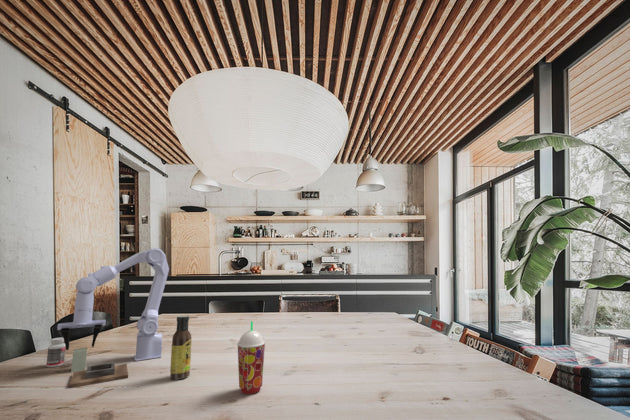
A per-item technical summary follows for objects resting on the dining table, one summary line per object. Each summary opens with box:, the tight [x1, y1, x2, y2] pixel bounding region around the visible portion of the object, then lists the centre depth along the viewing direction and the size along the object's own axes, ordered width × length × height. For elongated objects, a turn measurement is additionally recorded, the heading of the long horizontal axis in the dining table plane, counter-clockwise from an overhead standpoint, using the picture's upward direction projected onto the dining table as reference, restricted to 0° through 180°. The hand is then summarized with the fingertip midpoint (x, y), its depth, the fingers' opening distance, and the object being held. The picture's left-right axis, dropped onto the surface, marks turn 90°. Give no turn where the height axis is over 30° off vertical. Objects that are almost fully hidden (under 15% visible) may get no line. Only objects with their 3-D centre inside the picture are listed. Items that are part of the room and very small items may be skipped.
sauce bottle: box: [169, 314, 192, 380], centre depth 112 cm, size 6×6×20 cm
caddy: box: [68, 361, 129, 389], centre depth 112 cm, size 16×14×3 cm
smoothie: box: [236, 320, 266, 395], centre depth 100 cm, size 8×8×20 cm
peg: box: [70, 347, 88, 373], centre depth 120 cm, size 4×4×7 cm
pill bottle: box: [46, 337, 66, 368], centre depth 125 cm, size 5×5×10 cm
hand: (80, 347), depth 120 cm, fingers open, 7 cm apart
